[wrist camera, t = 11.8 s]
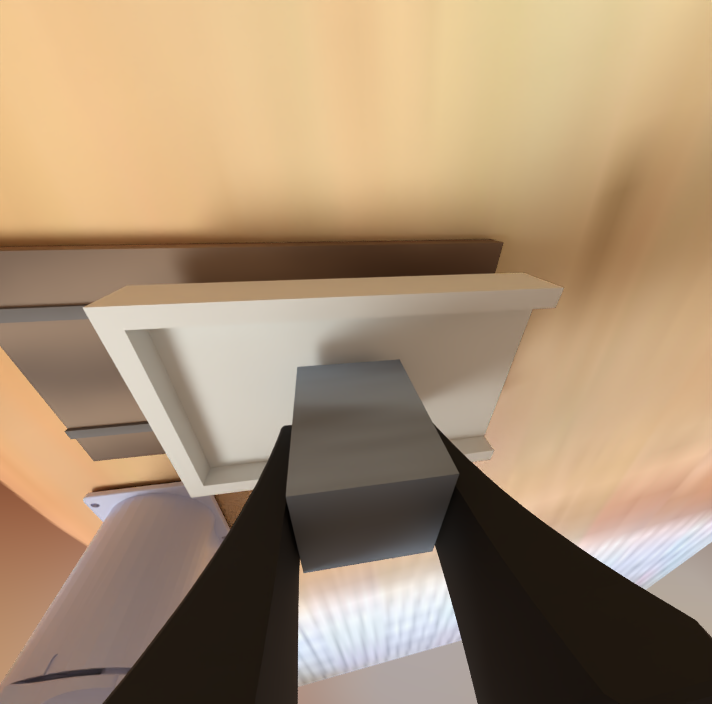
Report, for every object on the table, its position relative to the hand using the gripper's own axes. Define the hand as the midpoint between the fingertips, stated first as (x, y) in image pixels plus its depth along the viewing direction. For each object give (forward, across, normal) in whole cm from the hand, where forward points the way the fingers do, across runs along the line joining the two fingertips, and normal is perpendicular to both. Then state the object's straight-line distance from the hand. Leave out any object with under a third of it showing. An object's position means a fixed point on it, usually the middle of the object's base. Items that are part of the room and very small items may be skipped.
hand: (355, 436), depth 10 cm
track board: (+6, +4, 0) cm, 7 cm away
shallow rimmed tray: (+5, 0, 0) cm, 5 cm away
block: (+2, 0, 0) cm, 2 cm away
